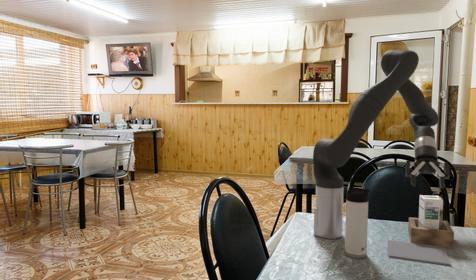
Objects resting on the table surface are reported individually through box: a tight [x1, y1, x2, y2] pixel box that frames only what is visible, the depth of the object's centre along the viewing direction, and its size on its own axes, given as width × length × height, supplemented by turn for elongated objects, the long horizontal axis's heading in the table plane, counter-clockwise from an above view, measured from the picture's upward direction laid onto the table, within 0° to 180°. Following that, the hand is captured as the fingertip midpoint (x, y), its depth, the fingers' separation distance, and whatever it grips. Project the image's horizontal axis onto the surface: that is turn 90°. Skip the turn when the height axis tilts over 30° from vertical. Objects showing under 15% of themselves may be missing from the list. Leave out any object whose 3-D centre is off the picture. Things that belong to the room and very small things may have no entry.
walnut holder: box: [407, 216, 455, 249], centre depth 119 cm, size 12×12×5 cm
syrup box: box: [418, 194, 444, 230], centre depth 119 cm, size 6×6×14 cm
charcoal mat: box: [387, 239, 452, 267], centre depth 108 cm, size 16×13×1 cm
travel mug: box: [344, 188, 371, 259], centre depth 106 cm, size 6×7×20 cm
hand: (427, 186), depth 126 cm, fingers open, 8 cm apart
